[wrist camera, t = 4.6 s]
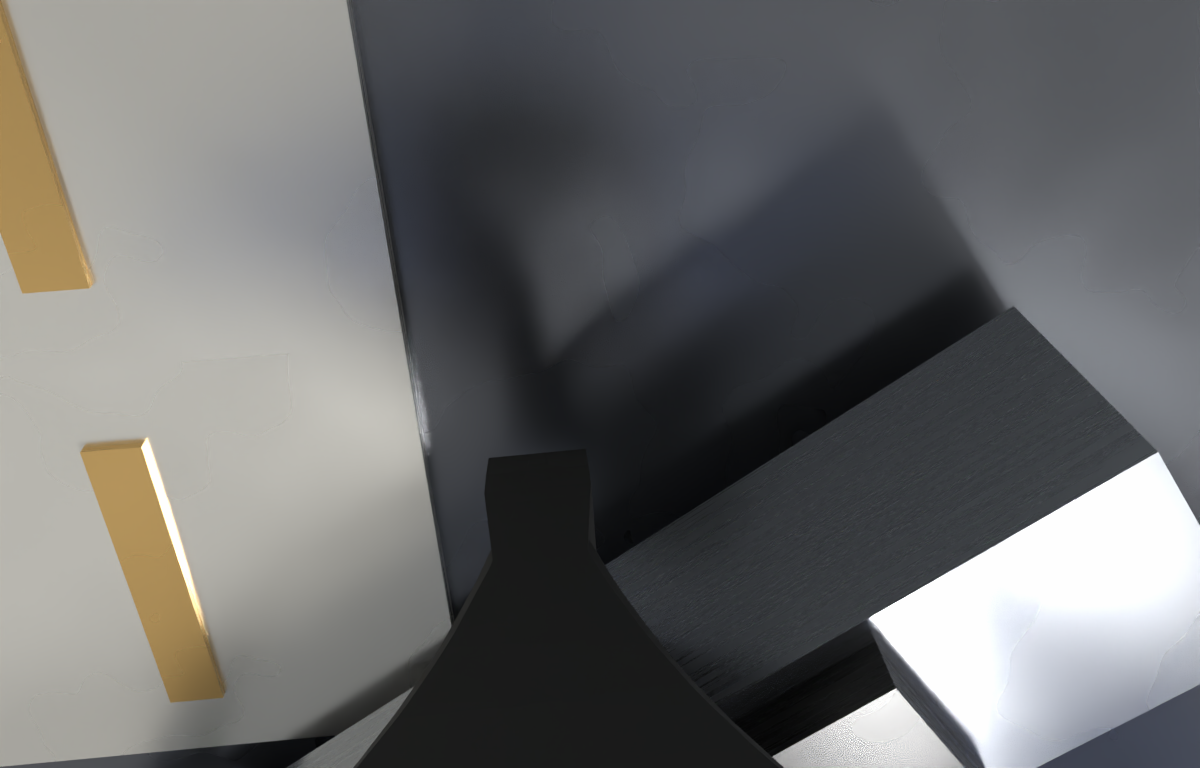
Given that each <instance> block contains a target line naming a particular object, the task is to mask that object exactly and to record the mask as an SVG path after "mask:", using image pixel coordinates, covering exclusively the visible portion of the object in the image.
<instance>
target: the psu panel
mask: <svg viewBox="0 0 1200 768" xmlns="http://www.w3.org/2000/svg"><path fill="white" fill-rule="evenodd" d="M1012 306H1014V307H1015V308H1016V309H1017V310H1018V311H1019V312H1020V313H1021V314H1022V315H1023V316H1024V317H1025V318H1026V319H1027V320H1028V321H1029V322H1030V323H1031V324H1032V325H1033V326H1034V327H1035V328H1036V329H1037V330H1038V331H1039V332H1040V333H1041V334H1042V335H1043V336H1044V337H1045V338H1046V339H1047V340H1048V341H1049V342H1050V343H1051V344H1052V345H1053V346H1054V347H1055V348H1056V349H1057V350H1058V351H1059V352H1060V353H1061V354H1062V355H1063V356H1064V357H1065V358H1066V359H1067V360H1068V361H1069V362H1070V363H1071V364H1072V365H1073V366H1074V367H1075V368H1076V369H1077V370H1078V372H1079V373H1080V374H1081V375H1082V376H1083V377H1084V378H1085V379H1086V380H1087V381H1088V382H1089V383H1090V384H1091V385H1092V386H1093V387H1094V388H1095V389H1096V390H1097V391H1098V392H1099V393H1100V394H1101V395H1102V396H1103V397H1104V398H1105V399H1106V400H1107V401H1108V402H1109V403H1110V404H1111V405H1112V406H1113V407H1114V408H1115V409H1116V410H1117V411H1118V412H1119V413H1120V414H1121V415H1122V416H1123V417H1124V418H1125V419H1126V420H1127V421H1128V422H1129V423H1130V424H1131V425H1132V426H1133V427H1134V428H1135V429H1136V430H1137V431H1138V432H1139V433H1140V434H1141V435H1142V436H1143V437H1144V438H1145V439H1146V440H1147V441H1148V442H1149V443H1150V444H1151V445H1152V446H1153V447H1154V448H1155V449H1156V450H1157V451H1158V453H1159V454H1160V456H1161V458H1162V460H1163V462H1164V463H1165V465H1166V467H1167V469H1168V470H1169V472H1170V474H1171V476H1172V477H1173V479H1174V481H1175V483H1176V485H1177V486H1178V488H1179V490H1180V492H1181V493H1182V495H1183V497H1184V499H1185V500H1186V502H1187V504H1188V506H1189V507H1190V509H1191V511H1192V513H1193V515H1194V516H1195V518H1196V520H1197V522H1198V523H1199V525H1200V0H0V768H286V767H288V766H290V765H291V764H293V763H294V762H296V761H298V760H299V759H301V758H302V757H304V756H305V755H307V754H309V753H310V752H312V751H313V750H315V749H316V748H318V747H320V746H321V745H323V744H324V743H326V742H327V741H329V740H331V739H332V738H334V737H335V736H337V735H338V734H340V733H342V732H343V731H345V730H346V729H348V728H349V727H351V726H353V725H354V724H356V723H357V722H359V721H360V720H362V719H364V718H365V717H367V716H368V715H370V714H372V713H373V712H375V711H376V710H378V709H379V708H381V707H383V706H384V705H386V704H387V703H389V702H390V701H392V700H394V699H395V698H397V697H398V696H400V695H401V694H403V693H405V692H406V691H408V690H409V689H411V688H412V687H414V686H415V685H416V683H417V682H418V680H419V679H420V677H421V676H422V674H423V673H424V671H425V670H426V668H427V666H428V665H429V663H430V662H431V660H432V659H433V657H434V655H435V654H436V652H437V650H438V649H439V647H440V646H441V644H442V642H443V641H444V639H445V637H446V636H447V634H448V632H449V630H450V628H451V627H452V625H453V623H454V621H455V619H456V617H457V616H458V614H459V612H460V610H461V608H462V607H463V605H464V603H465V601H466V599H467V598H468V596H469V594H470V592H471V590H472V588H473V587H474V585H475V583H476V581H477V579H478V577H479V575H480V572H481V570H482V568H483V566H484V564H485V561H486V559H487V557H488V555H489V553H490V550H491V543H490V535H489V527H488V519H487V511H486V503H485V495H484V491H485V481H486V472H487V465H488V459H489V458H493V457H504V456H514V455H525V454H535V453H545V452H556V451H566V450H577V449H586V454H587V460H588V466H589V473H590V479H591V489H592V502H593V514H594V527H595V540H596V552H597V553H598V555H599V556H600V558H601V560H602V561H603V563H604V565H606V564H608V563H609V562H611V561H612V560H614V559H616V558H617V557H619V556H620V555H622V554H623V553H625V552H627V551H628V550H630V549H631V548H633V547H634V546H636V545H638V544H639V543H641V542H642V541H644V540H645V539H647V538H649V537H650V536H652V535H653V534H655V533H656V532H658V531H660V530H661V529H663V528H664V527H666V526H668V525H669V524H671V523H672V522H674V521H675V520H677V519H679V518H680V517H682V516H683V515H685V514H686V513H688V512H690V511H691V510H693V509H694V508H696V507H697V506H699V505H701V504H702V503H704V502H705V501H707V500H708V499H710V498H712V497H713V496H715V495H716V494H718V493H719V492H721V491H723V490H724V489H726V488H727V487H729V486H730V485H732V484H734V483H735V482H737V481H738V480H740V479H741V478H743V477H745V476H746V475H748V474H749V473H751V472H753V471H754V470H756V469H757V468H759V467H760V466H762V465H764V464H765V463H767V462H768V461H770V460H771V459H773V458H775V457H776V456H778V455H779V454H781V453H782V452H784V451H786V450H787V449H789V448H790V447H792V446H793V445H795V444H797V443H798V442H800V441H801V440H803V439H804V438H806V437H808V436H809V435H811V434H812V433H814V432H815V431H817V430H819V429H820V428H822V427H823V426H825V425H827V424H828V423H830V422H831V421H833V420H834V419H836V418H838V417H839V416H841V415H842V414H844V413H845V412H847V411H849V410H850V409H852V408H853V407H855V406H856V405H858V404H860V403H861V402H863V401H864V400H866V399H867V398H869V397H871V396H872V395H874V394H875V393H877V392H878V391H880V390H882V389H883V388H885V387H886V386H888V385H889V384H891V383H893V382H894V381H896V380H897V379H899V378H901V377H902V376H904V375H905V374H907V373H908V372H910V371H912V370H913V369H915V368H916V367H918V366H919V365H921V364H923V363H924V362H926V361H927V360H929V359H930V358H932V357H934V356H935V355H937V354H938V353H940V352H941V351H943V350H945V349H946V348H948V347H949V346H951V345H952V344H954V343H956V342H957V341H959V340H960V339H962V338H963V337H965V336H967V335H968V334H970V333H971V332H973V331H975V330H976V329H978V328H979V327H981V326H982V325H984V324H986V323H987V322H989V321H990V320H992V319H993V318H995V317H997V316H998V315H1000V314H1001V313H1003V312H1004V311H1006V310H1008V309H1009V308H1011V307H1012ZM1037 768H1200V685H1198V686H1196V687H1194V688H1192V689H1190V690H1188V691H1186V692H1184V693H1182V694H1180V695H1178V696H1176V697H1174V698H1172V699H1170V700H1168V701H1166V702H1164V703H1162V704H1160V705H1158V706H1156V707H1154V708H1153V709H1151V710H1149V711H1147V712H1145V713H1143V714H1141V715H1139V716H1137V717H1135V718H1133V719H1131V720H1129V721H1127V722H1125V723H1123V724H1121V725H1119V726H1117V727H1115V728H1113V729H1111V730H1109V731H1107V732H1105V733H1104V734H1102V735H1100V736H1098V737H1096V738H1094V739H1092V740H1090V741H1088V742H1086V743H1084V744H1082V745H1080V746H1078V747H1076V748H1074V749H1072V750H1070V751H1068V752H1066V753H1064V754H1062V755H1060V756H1058V757H1057V758H1055V759H1053V760H1051V761H1049V762H1047V763H1045V764H1043V765H1041V766H1039V767H1037Z"/></svg>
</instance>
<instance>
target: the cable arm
mask: <svg viewBox="0 0 1200 768" xmlns="http://www.w3.org/2000/svg"><path fill="white" fill-rule="evenodd" d="M605 566H606V568H607V569H608V571H609V573H610V574H611V576H612V577H613V579H614V580H615V582H616V583H617V585H618V586H619V588H620V589H621V591H622V592H623V594H624V595H625V596H626V598H627V599H628V601H629V602H630V603H631V605H632V606H633V607H634V609H635V610H636V611H637V613H638V614H639V616H640V617H641V618H642V620H643V621H644V622H645V624H646V625H647V626H648V627H649V629H650V630H651V631H652V633H653V634H654V635H655V636H656V638H657V639H658V640H659V641H660V643H661V644H662V645H663V646H664V647H665V649H666V650H667V651H668V652H669V654H670V655H671V656H672V657H673V658H674V659H675V660H676V662H677V663H678V664H679V665H680V666H681V667H682V668H683V669H684V671H685V672H686V673H687V674H688V675H689V676H690V677H691V679H692V680H693V681H694V682H695V683H696V684H697V685H698V686H699V687H700V688H701V689H702V690H703V691H704V692H705V693H706V694H707V696H708V697H709V698H710V699H711V700H712V701H713V702H714V703H715V704H716V705H717V706H718V707H719V708H720V709H721V710H722V711H723V712H724V713H725V714H726V715H727V716H728V717H729V718H730V719H731V720H732V721H733V722H734V723H735V724H736V725H737V726H738V727H740V728H741V729H742V730H743V731H744V732H745V733H746V734H747V735H748V736H750V737H751V738H752V739H753V740H754V741H755V742H756V743H757V744H758V745H759V746H761V747H762V748H763V749H764V750H765V751H766V752H767V753H768V754H769V755H771V756H772V757H773V758H774V759H775V760H776V761H777V762H778V763H779V764H781V765H782V766H783V767H784V768H1037V767H1039V766H1041V765H1043V764H1045V763H1047V762H1049V761H1051V760H1053V759H1055V758H1057V757H1058V756H1060V755H1062V754H1064V753H1066V752H1068V751H1070V750H1072V749H1074V748H1076V747H1078V746H1080V745H1082V744H1084V743H1086V742H1088V741H1090V740H1092V739H1094V738H1096V737H1098V736H1100V735H1102V734H1104V733H1105V732H1107V731H1109V730H1111V729H1113V728H1115V727H1117V726H1119V725H1121V724H1123V723H1125V722H1127V721H1129V720H1131V719H1133V718H1135V717H1137V716H1139V715H1141V714H1143V713H1145V712H1147V711H1149V710H1151V709H1153V708H1154V707H1156V706H1158V705H1160V704H1162V703H1164V702H1166V701H1168V700H1170V699H1172V698H1174V697H1176V696H1178V695H1180V694H1182V693H1184V692H1186V691H1188V690H1190V689H1192V688H1194V687H1196V686H1198V685H1200V525H1199V523H1198V522H1197V520H1196V518H1195V516H1194V515H1193V513H1192V511H1191V509H1190V507H1189V506H1188V504H1187V502H1186V500H1185V499H1184V497H1183V495H1182V493H1181V492H1180V490H1179V488H1178V486H1177V485H1176V483H1175V481H1174V479H1173V477H1172V476H1171V474H1170V472H1169V470H1168V469H1167V467H1166V465H1165V463H1164V462H1163V460H1162V458H1161V456H1160V454H1159V453H1158V451H1157V450H1156V449H1155V448H1154V447H1153V446H1152V445H1151V444H1150V443H1149V442H1148V441H1147V440H1146V439H1145V438H1144V437H1143V436H1142V435H1141V434H1140V433H1139V432H1138V431H1137V430H1136V429H1135V428H1134V427H1133V426H1132V425H1131V424H1130V423H1129V422H1128V421H1127V420H1126V419H1125V418H1124V417H1123V416H1122V415H1121V414H1120V413H1119V412H1118V411H1117V410H1116V409H1115V408H1114V407H1113V406H1112V405H1111V404H1110V403H1109V402H1108V401H1107V400H1106V399H1105V398H1104V397H1103V396H1102V395H1101V394H1100V393H1099V392H1098V391H1097V390H1096V389H1095V388H1094V387H1093V386H1092V385H1091V384H1090V383H1089V382H1088V381H1087V380H1086V379H1085V378H1084V377H1083V376H1082V375H1081V374H1080V373H1079V372H1078V370H1077V369H1076V368H1075V367H1074V366H1073V365H1072V364H1071V363H1070V362H1069V361H1068V360H1067V359H1066V358H1065V357H1064V356H1063V355H1062V354H1061V353H1060V352H1059V351H1058V350H1057V349H1056V348H1055V347H1054V346H1053V345H1052V344H1051V343H1050V342H1049V341H1048V340H1047V339H1046V338H1045V337H1044V336H1043V335H1042V334H1041V333H1040V332H1039V331H1038V330H1037V329H1036V328H1035V327H1034V326H1033V325H1032V324H1031V323H1030V322H1029V321H1028V320H1027V319H1026V318H1025V317H1024V316H1023V315H1022V314H1021V313H1020V312H1019V311H1018V310H1017V309H1016V308H1015V307H1014V306H1012V307H1011V308H1009V309H1008V310H1006V311H1004V312H1003V313H1001V314H1000V315H998V316H997V317H995V318H993V319H992V320H990V321H989V322H987V323H986V324H984V325H982V326H981V327H979V328H978V329H976V330H975V331H973V332H971V333H970V334H968V335H967V336H965V337H963V338H962V339H960V340H959V341H957V342H956V343H954V344H952V345H951V346H949V347H948V348H946V349H945V350H943V351H941V352H940V353H938V354H937V355H935V356H934V357H932V358H930V359H929V360H927V361H926V362H924V363H923V364H921V365H919V366H918V367H916V368H915V369H913V370H912V371H910V372H908V373H907V374H905V375H904V376H902V377H901V378H899V379H897V380H896V381H894V382H893V383H891V384H889V385H888V386H886V387H885V388H883V389H882V390H880V391H878V392H877V393H875V394H874V395H872V396H871V397H869V398H867V399H866V400H864V401H863V402H861V403H860V404H858V405H856V406H855V407H853V408H852V409H850V410H849V411H847V412H845V413H844V414H842V415H841V416H839V417H838V418H836V419H834V420H833V421H831V422H830V423H828V424H827V425H825V426H823V427H822V428H820V429H819V430H817V431H815V432H814V433H812V434H811V435H809V436H808V437H806V438H804V439H803V440H801V441H800V442H798V443H797V444H795V445H793V446H792V447H790V448H789V449H787V450H786V451H784V452H782V453H781V454H779V455H778V456H776V457H775V458H773V459H771V460H770V461H768V462H767V463H765V464H764V465H762V466H760V467H759V468H757V469H756V470H754V471H753V472H751V473H749V474H748V475H746V476H745V477H743V478H741V479H740V480H738V481H737V482H735V483H734V484H732V485H730V486H729V487H727V488H726V489H724V490H723V491H721V492H719V493H718V494H716V495H715V496H713V497H712V498H710V499H708V500H707V501H705V502H704V503H702V504H701V505H699V506H697V507H696V508H694V509H693V510H691V511H690V512H688V513H686V514H685V515H683V516H682V517H680V518H679V519H677V520H675V521H674V522H672V523H671V524H669V525H668V526H666V527H664V528H663V529H661V530H660V531H658V532H656V533H655V534H653V535H652V536H650V537H649V538H647V539H645V540H644V541H642V542H641V543H639V544H638V545H636V546H634V547H633V548H631V549H630V550H628V551H627V552H625V553H623V554H622V555H620V556H619V557H617V558H616V559H614V560H612V561H611V562H609V563H608V564H606V565H605ZM412 689H413V687H412V688H411V689H409V690H408V691H406V692H405V693H403V694H401V695H400V696H398V697H397V698H395V699H394V700H392V701H390V702H389V703H387V704H386V705H384V706H383V707H381V708H379V709H378V710H376V711H375V712H373V713H372V714H370V715H368V716H367V717H365V718H364V719H362V720H360V721H359V722H357V723H356V724H354V725H353V726H351V727H349V728H348V729H346V730H345V731H343V732H342V733H340V734H338V735H337V736H335V737H334V738H332V739H331V740H329V741H327V742H326V743H324V744H323V745H321V746H320V747H318V748H316V749H315V750H313V751H312V752H310V753H309V754H307V755H305V756H304V757H302V758H301V759H299V760H298V761H296V762H294V763H293V764H291V765H290V766H288V767H286V768H353V767H354V766H355V765H356V764H357V763H358V761H359V760H360V759H361V757H362V756H363V755H364V754H365V752H366V751H367V750H368V748H369V747H370V746H371V744H372V743H373V742H374V741H375V739H376V738H377V737H378V735H379V734H380V733H381V731H382V730H383V729H384V728H385V726H386V725H387V724H388V722H389V721H390V720H391V718H392V717H393V716H394V715H395V713H396V712H397V710H398V709H399V708H400V706H401V705H402V703H403V702H404V700H405V699H406V698H407V696H408V695H409V693H410V692H411V690H412Z"/></svg>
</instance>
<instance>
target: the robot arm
mask: <svg viewBox="0 0 1200 768" xmlns="http://www.w3.org/2000/svg"><path fill="white" fill-rule="evenodd" d="M484 495H485V503H486V511H487V519H488V527H489V535H490V543H491V550H490V553H489V555H488V557H487V559H486V561H485V564H484V566H483V568H482V570H481V572H480V575H479V577H478V579H477V581H476V583H475V585H474V587H473V588H472V590H471V592H470V594H469V596H468V598H467V599H466V601H465V603H464V605H463V607H462V608H461V610H460V612H459V614H458V616H457V617H456V619H455V621H454V623H453V625H452V627H451V628H450V630H449V632H448V634H447V636H446V637H445V639H444V641H443V642H442V644H441V646H440V647H439V649H438V650H437V652H436V654H435V655H434V657H433V659H432V660H431V662H430V663H429V665H428V666H427V668H426V670H425V671H424V673H423V674H422V676H421V677H420V679H419V680H418V682H417V683H416V685H415V686H414V687H413V689H412V690H411V692H410V693H409V695H408V696H407V698H406V699H405V700H404V702H403V703H402V705H401V706H400V708H399V709H398V710H397V712H396V713H395V715H394V716H393V717H392V718H391V720H390V721H389V722H388V724H387V725H386V726H385V728H384V729H383V730H382V731H381V733H380V734H379V735H378V737H377V738H376V739H375V741H374V742H373V743H372V744H371V746H370V747H369V748H368V750H367V751H366V752H365V754H364V755H363V756H362V757H361V759H360V760H359V761H358V763H357V764H356V765H355V766H354V767H353V768H784V767H783V766H782V765H781V764H779V763H778V762H777V761H776V760H775V759H774V758H773V757H772V756H771V755H769V754H768V753H767V752H766V751H765V750H764V749H763V748H762V747H761V746H759V745H758V744H757V743H756V742H755V741H754V740H753V739H752V738H751V737H750V736H748V735H747V734H746V733H745V732H744V731H743V730H742V729H741V728H740V727H738V726H737V725H736V724H735V723H734V722H733V721H732V720H731V719H730V718H729V717H728V716H727V715H726V714H725V713H724V712H723V711H722V710H721V709H720V708H719V707H718V706H717V705H716V704H715V703H714V702H713V701H712V700H711V699H710V698H709V697H708V696H707V694H706V693H705V692H704V691H703V690H702V689H701V688H700V687H699V686H698V685H697V684H696V683H695V682H694V681H693V680H692V679H691V677H690V676H689V675H688V674H687V673H686V672H685V671H684V669H683V668H682V667H681V666H680V665H679V664H678V663H677V662H676V660H675V659H674V658H673V657H672V656H671V655H670V654H669V652H668V651H667V650H666V649H665V647H664V646H663V645H662V644H661V643H660V641H659V640H658V639H657V638H656V636H655V635H654V634H653V633H652V631H651V630H650V629H649V627H648V626H647V625H646V624H645V622H644V621H643V620H642V618H641V617H640V616H639V614H638V613H637V611H636V610H635V609H634V607H633V606H632V605H631V603H630V602H629V601H628V599H627V598H626V596H625V595H624V594H623V592H622V591H621V589H620V588H619V586H618V585H617V583H616V582H615V580H614V579H613V577H612V576H611V574H610V573H609V571H608V569H607V568H606V566H605V565H604V563H603V561H602V560H601V558H600V556H599V555H598V553H597V552H596V540H595V527H594V514H593V502H592V489H591V479H590V473H589V466H588V460H587V454H586V449H577V450H566V451H556V452H545V453H535V454H525V455H514V456H504V457H493V458H489V459H488V465H487V472H486V481H485V491H484Z"/></svg>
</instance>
